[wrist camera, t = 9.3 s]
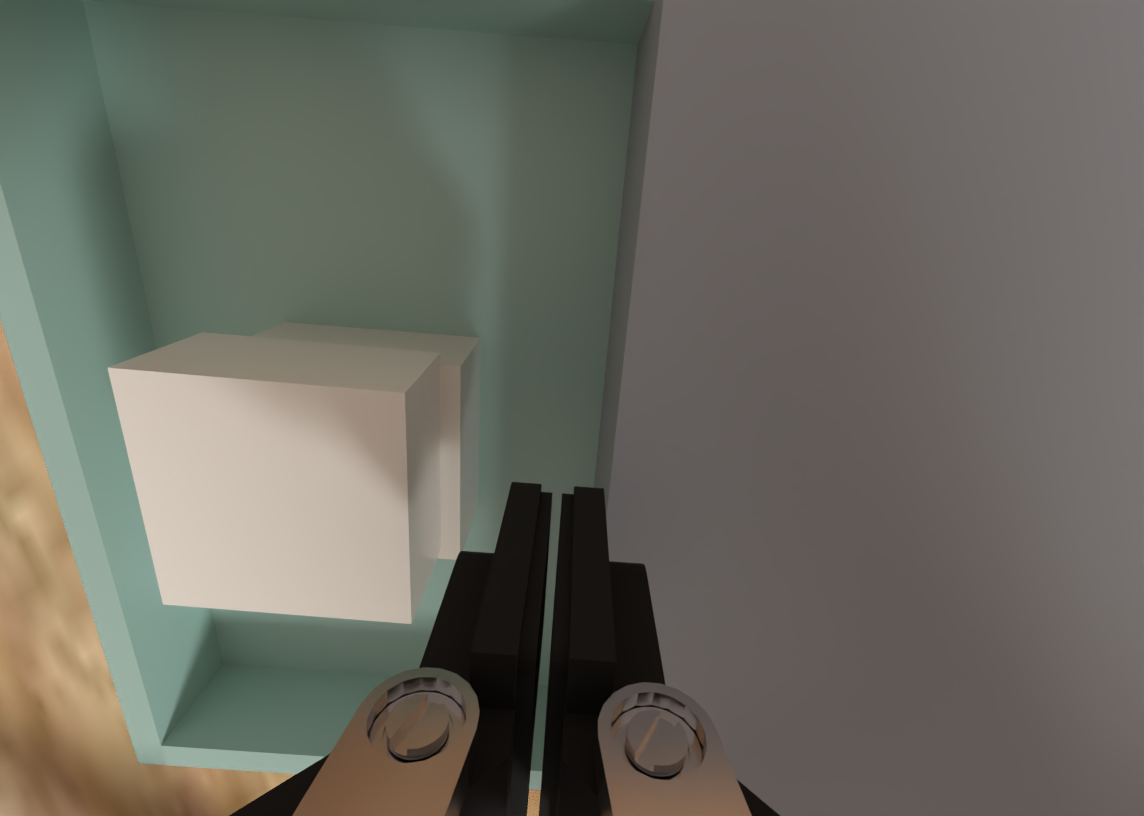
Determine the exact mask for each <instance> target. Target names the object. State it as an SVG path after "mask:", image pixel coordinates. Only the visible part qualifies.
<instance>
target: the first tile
mask: <svg viewBox="0 0 1144 816" xmlns="http://www.w3.org/2000/svg"><path fill="white" fill-rule="evenodd" d="M108 372H109V377H110V381H111V385H112V389H113V394H114V398H115V402H116V406H117V411H118V415H119V419H120V424H121V428H122V432H123V436H124V441H125V445H126V449H127V453H128V458H129V462H130V466H131V470H132V475H133V479H134V483H135V487H136V492H137V496H138V500H139V504H140V509H141V513H142V517H143V521H144V526H145V530H146V534H147V538H148V543H149V547H150V551H151V556H152V560H153V564H154V568H155V573H156V577H157V581H158V585H159V590H160V594H161V598H162V602H163V605H176V606H189V607H201V608H214V609H227V610H239V611H252V612H265V613H277V614H290V615H303V616H315V617H328V618H341V619H353V620H366V621H379V622H391V623H404V624H412V622H413V619H414V616H415V614H416V611H417V609H418V606H419V604H420V601H421V599H422V596H423V594H424V591H425V589H426V586H427V584H428V581H429V578H430V576H431V573H432V571H433V568H434V566H435V563H436V561H437V558H438V556H439V553H440V551H441V432H440V353H438V352H426V351H414V350H403V349H391V348H380V347H368V346H356V345H345V344H333V343H322V342H310V341H298V340H287V339H275V338H263V337H252V336H240V335H229V334H217V333H205V332H202V333H199V334H197V335H194V336H191V337H188V338H186V339H183V340H180V341H178V342H175V343H172V344H170V345H167V346H164V347H162V348H159V349H156V350H154V351H151V352H148V353H145V354H143V355H140V356H137V357H135V358H132V359H129V360H127V361H124V362H121V363H119V364H116V365H113V366H110V367H108Z"/></svg>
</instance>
